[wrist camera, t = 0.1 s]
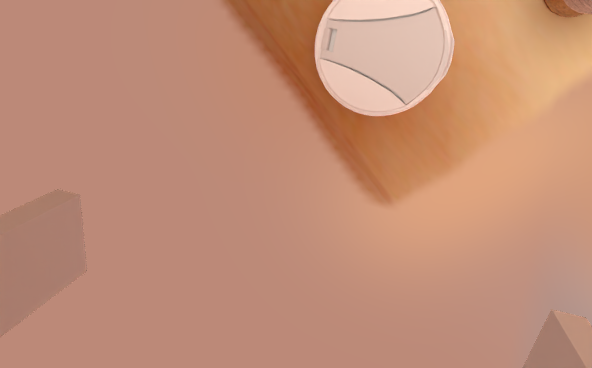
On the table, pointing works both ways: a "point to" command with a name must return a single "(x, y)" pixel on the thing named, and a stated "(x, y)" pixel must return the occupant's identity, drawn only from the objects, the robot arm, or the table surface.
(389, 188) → the table surface
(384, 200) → the table surface
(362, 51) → the paper cup
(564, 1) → the sprinkles bottle
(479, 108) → the table surface
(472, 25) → the table surface
